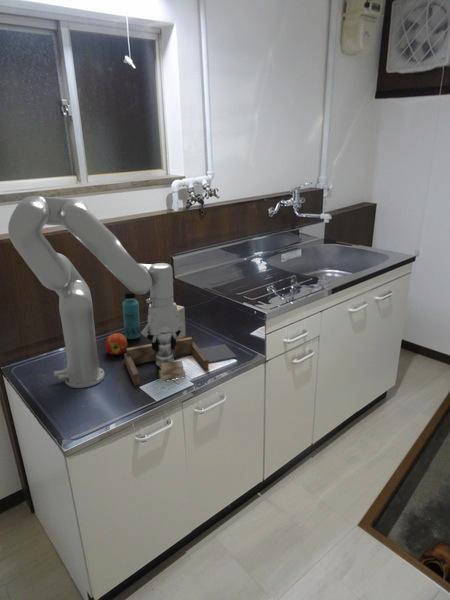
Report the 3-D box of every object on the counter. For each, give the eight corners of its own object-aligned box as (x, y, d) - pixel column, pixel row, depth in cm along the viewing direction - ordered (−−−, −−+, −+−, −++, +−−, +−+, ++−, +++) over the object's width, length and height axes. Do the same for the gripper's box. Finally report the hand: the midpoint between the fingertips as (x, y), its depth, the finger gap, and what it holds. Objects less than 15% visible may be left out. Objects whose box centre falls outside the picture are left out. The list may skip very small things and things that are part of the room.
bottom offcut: (162, 383, 139) (161, 376, 138) (159, 377, 142) (158, 370, 141) (185, 378, 142) (185, 372, 141) (182, 372, 145) (182, 366, 144)
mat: (208, 363, 150) (208, 362, 150) (197, 350, 160) (197, 349, 160) (236, 357, 154) (236, 356, 154) (224, 345, 164) (224, 344, 164)
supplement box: (186, 336, 171) (185, 306, 167) (178, 341, 168) (177, 310, 163) (170, 332, 175) (169, 302, 171) (162, 336, 172) (161, 306, 167)
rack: (134, 385, 136) (133, 369, 134) (125, 363, 150) (123, 348, 148) (208, 370, 146) (208, 354, 144) (193, 350, 160) (192, 336, 158)
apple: (105, 359, 153) (103, 339, 150) (106, 349, 160) (105, 330, 158) (128, 357, 154) (126, 337, 151) (128, 347, 162) (126, 328, 159)
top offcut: (162, 375, 138) (161, 368, 138) (160, 369, 142) (160, 363, 141) (183, 372, 140) (183, 366, 139) (181, 367, 144) (181, 360, 143)
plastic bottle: (175, 361, 152) (174, 309, 145) (171, 371, 145) (170, 317, 138) (158, 360, 152) (155, 308, 145) (153, 369, 146) (150, 316, 139)
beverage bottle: (123, 336, 171) (119, 290, 164) (140, 334, 173) (137, 288, 166) (125, 343, 165) (121, 295, 158) (142, 341, 167) (139, 293, 160)
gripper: (139, 307, 134) (142, 358, 140) (190, 300, 140) (191, 349, 147) (134, 300, 140) (137, 349, 147) (183, 294, 147) (184, 341, 153)
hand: (164, 349), depth 146 cm, fingers closed on plastic bottle, 5 cm apart
